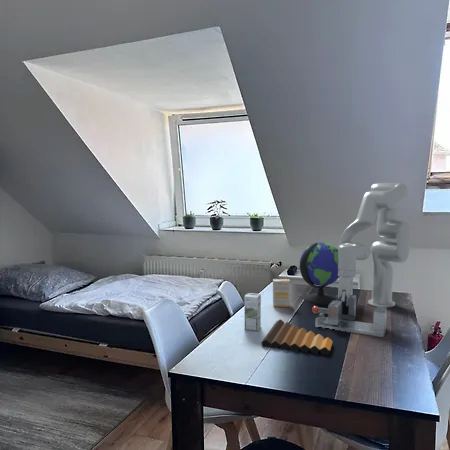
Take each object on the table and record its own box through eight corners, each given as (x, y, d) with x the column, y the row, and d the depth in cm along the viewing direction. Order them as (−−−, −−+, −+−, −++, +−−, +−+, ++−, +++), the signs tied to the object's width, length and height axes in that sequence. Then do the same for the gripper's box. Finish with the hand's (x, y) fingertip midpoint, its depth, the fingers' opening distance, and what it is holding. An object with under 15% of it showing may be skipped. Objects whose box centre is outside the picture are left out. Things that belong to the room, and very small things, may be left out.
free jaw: (314, 314, 188) (314, 298, 187) (341, 318, 183) (342, 301, 182) (309, 320, 180) (309, 303, 179) (337, 325, 175) (337, 307, 174)
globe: (338, 308, 204) (340, 246, 201) (294, 302, 214) (294, 244, 211) (346, 296, 224) (347, 240, 221) (305, 292, 234) (306, 238, 231)
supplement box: (289, 304, 211) (289, 278, 209) (289, 307, 206) (290, 281, 205) (272, 304, 212) (272, 278, 210) (272, 307, 207) (272, 280, 206)
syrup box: (261, 326, 179) (261, 293, 177) (257, 331, 173) (257, 296, 172) (248, 325, 181) (248, 292, 179) (244, 330, 175) (244, 295, 173)
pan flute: (276, 326, 181) (261, 347, 158) (276, 318, 181) (261, 339, 157) (336, 332, 173) (329, 356, 149) (336, 324, 172) (330, 347, 149)
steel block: (337, 314, 194) (338, 293, 193) (355, 317, 191) (356, 295, 190) (335, 317, 190) (335, 296, 189) (353, 320, 186) (354, 298, 185)
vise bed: (321, 319, 188) (322, 299, 187) (386, 328, 176) (387, 306, 175) (315, 327, 178) (315, 305, 177) (383, 337, 166) (384, 314, 165)
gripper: (341, 268, 197) (341, 306, 199) (333, 275, 182) (333, 316, 184) (358, 269, 194) (357, 308, 196) (351, 277, 179) (350, 319, 181)
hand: (345, 312), depth 190 cm, fingers closed on steel block, 5 cm apart
